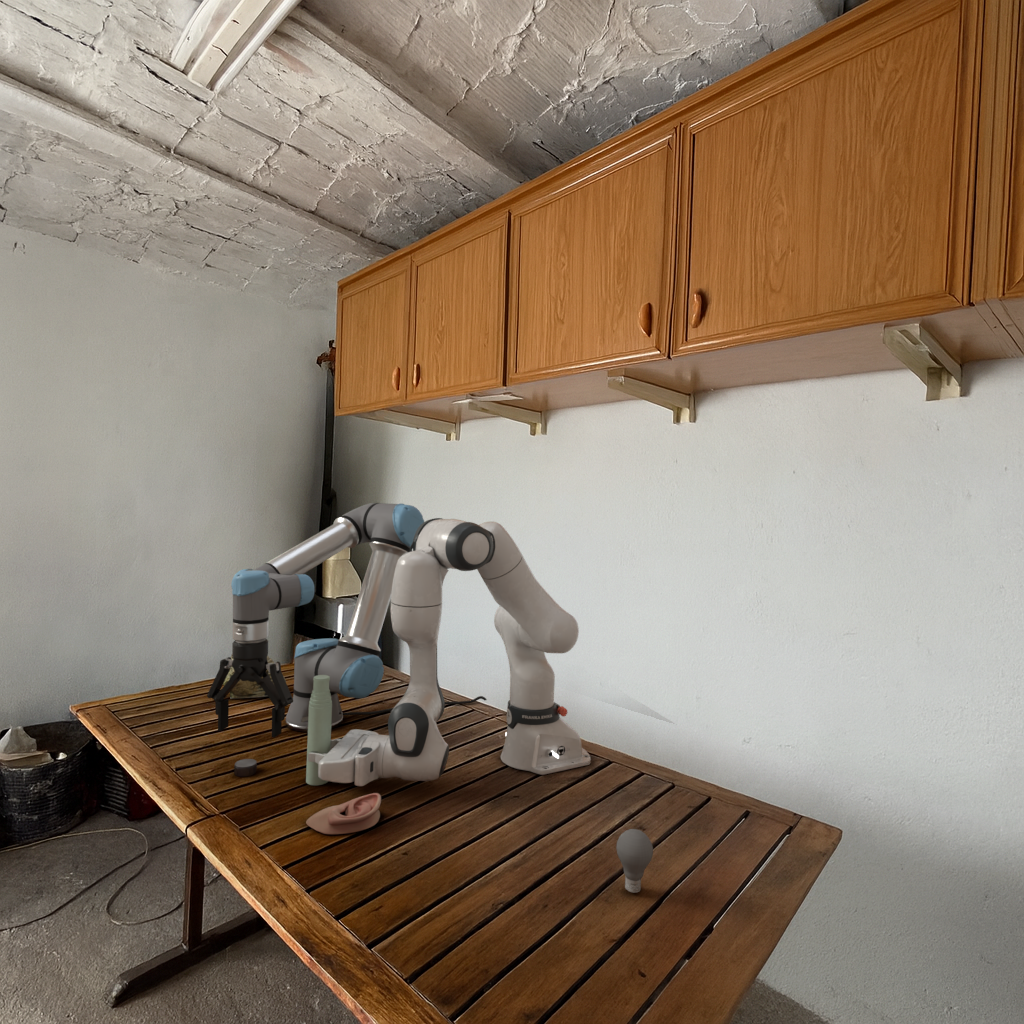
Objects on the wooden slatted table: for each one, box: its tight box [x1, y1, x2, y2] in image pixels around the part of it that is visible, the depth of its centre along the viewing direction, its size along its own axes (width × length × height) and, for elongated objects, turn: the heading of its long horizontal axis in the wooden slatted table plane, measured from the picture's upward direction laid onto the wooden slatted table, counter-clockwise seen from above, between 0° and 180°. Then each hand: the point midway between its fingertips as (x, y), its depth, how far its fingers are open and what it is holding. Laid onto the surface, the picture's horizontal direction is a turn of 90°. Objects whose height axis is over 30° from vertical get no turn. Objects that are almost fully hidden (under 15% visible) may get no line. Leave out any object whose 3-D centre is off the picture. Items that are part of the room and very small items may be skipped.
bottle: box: [305, 675, 332, 786], centre depth 141 cm, size 5×5×23 cm
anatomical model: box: [305, 792, 382, 835], centre depth 124 cm, size 13×4×12 cm
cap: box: [233, 758, 258, 778], centre depth 144 cm, size 5×5×2 cm
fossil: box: [222, 654, 287, 699], centre depth 198 cm, size 9×18×15 cm, turn 132°
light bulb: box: [615, 828, 654, 894], centre depth 106 cm, size 6×6×10 cm
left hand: (249, 732), depth 144 cm, fingers open, 13 cm apart
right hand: (314, 750), depth 141 cm, fingers closed on bottle, 5 cm apart
